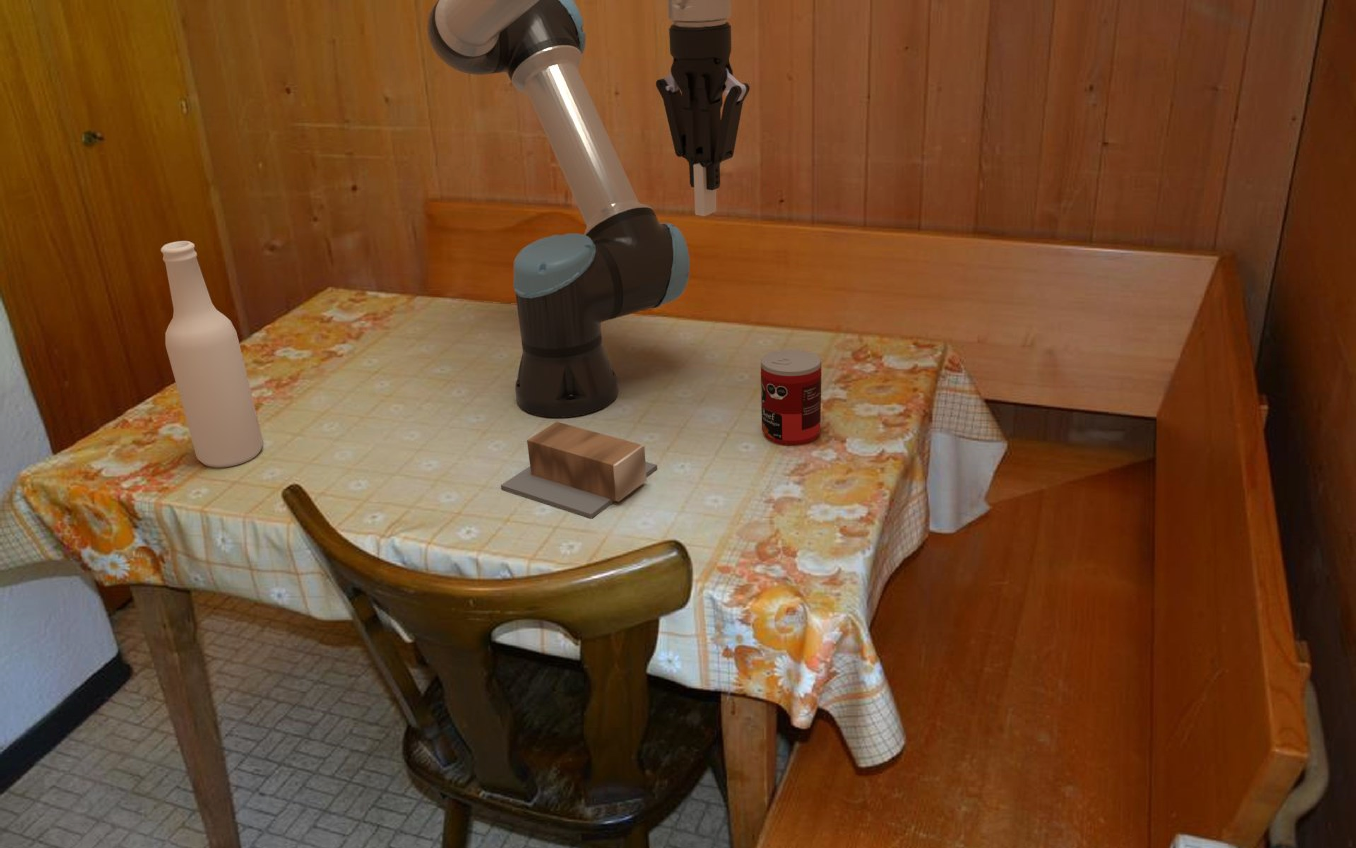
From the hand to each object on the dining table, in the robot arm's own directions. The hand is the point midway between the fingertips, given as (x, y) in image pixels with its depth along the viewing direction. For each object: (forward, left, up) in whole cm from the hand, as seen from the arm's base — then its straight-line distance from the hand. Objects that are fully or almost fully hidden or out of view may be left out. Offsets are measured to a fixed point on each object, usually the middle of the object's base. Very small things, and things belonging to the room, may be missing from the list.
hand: (705, 212), depth 143 cm
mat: (-5, -24, -29) cm, 38 cm away
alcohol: (-52, -42, -29) cm, 73 cm away
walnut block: (+3, -24, -26) cm, 36 cm away
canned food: (+13, 0, -29) cm, 32 cm away
